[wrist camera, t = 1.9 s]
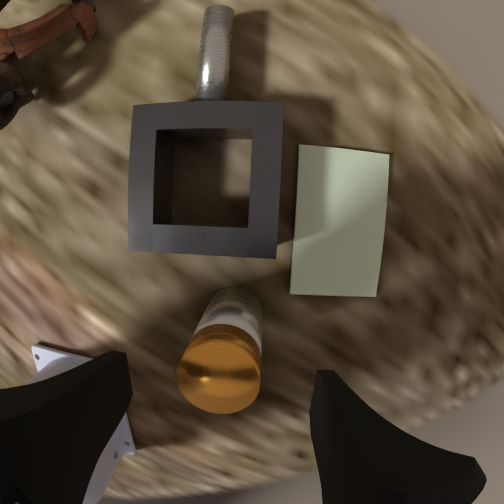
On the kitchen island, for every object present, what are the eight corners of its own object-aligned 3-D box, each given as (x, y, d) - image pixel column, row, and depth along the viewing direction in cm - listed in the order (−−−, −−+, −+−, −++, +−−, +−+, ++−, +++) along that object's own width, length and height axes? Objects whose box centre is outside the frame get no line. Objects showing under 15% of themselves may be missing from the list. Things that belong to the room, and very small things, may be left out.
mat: (373, 294, 17) (375, 296, 17) (289, 291, 17) (289, 293, 17) (386, 155, 16) (389, 154, 15) (298, 145, 16) (299, 144, 15)
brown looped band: (10, 35, 15) (-5, -30, 7) (106, 28, 19) (116, -45, 11) (-33, 159, 14) (-83, 110, 7) (78, 152, 18) (63, 87, 10)
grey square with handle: (274, 246, 17) (276, 258, 14) (150, 240, 17) (128, 250, 14) (283, 25, 14) (286, -2, 11) (165, 28, 15) (149, 5, 12)
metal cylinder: (261, 339, 18) (257, 416, 11) (207, 335, 18) (178, 408, 11) (264, 288, 17) (262, 349, 11) (207, 284, 18) (173, 342, 11)
